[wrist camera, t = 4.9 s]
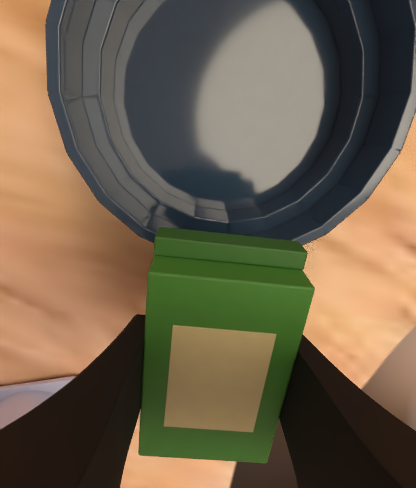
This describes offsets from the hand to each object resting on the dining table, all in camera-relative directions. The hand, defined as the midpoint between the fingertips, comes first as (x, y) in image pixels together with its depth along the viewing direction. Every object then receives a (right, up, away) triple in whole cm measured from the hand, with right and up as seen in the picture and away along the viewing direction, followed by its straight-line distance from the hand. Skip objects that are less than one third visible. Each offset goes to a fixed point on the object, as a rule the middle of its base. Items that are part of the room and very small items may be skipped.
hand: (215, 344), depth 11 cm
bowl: (+1, +11, +5) cm, 12 cm away
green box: (0, +1, +1) cm, 1 cm away
